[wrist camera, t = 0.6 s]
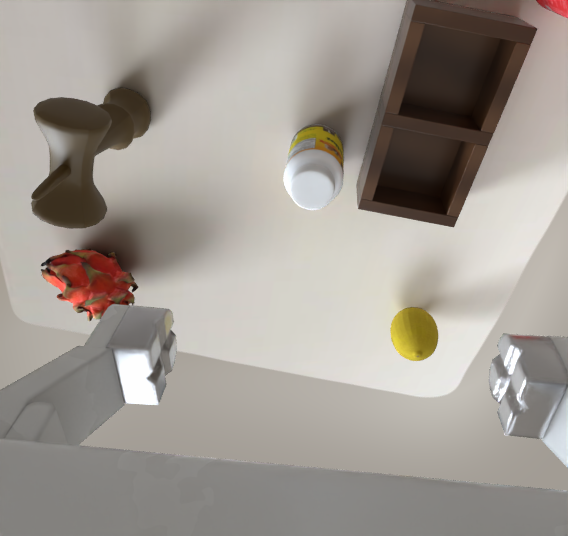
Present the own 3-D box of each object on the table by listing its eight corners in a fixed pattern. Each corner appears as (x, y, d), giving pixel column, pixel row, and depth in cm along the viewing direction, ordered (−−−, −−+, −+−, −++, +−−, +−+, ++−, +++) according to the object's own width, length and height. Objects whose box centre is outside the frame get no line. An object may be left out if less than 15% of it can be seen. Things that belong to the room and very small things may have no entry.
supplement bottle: (350, 163, 53) (351, 208, 45) (301, 179, 55) (294, 226, 47) (333, 114, 51) (331, 152, 42) (282, 132, 52) (271, 173, 44)
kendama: (97, 145, 55) (-5, 241, 39) (104, 55, 50) (-13, 123, 33) (151, 161, 56) (72, 262, 39) (163, 74, 50) (77, 150, 34)
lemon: (421, 288, 62) (430, 332, 55) (439, 318, 64) (450, 364, 58) (380, 305, 64) (385, 349, 57) (399, 333, 66) (406, 379, 60)
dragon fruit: (153, 283, 67) (73, 240, 67) (151, 265, 59) (59, 216, 59) (119, 339, 64) (34, 295, 64) (111, 327, 56) (14, 277, 56)
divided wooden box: (408, -5, 44) (415, 4, 40) (518, 17, 44) (537, 28, 40) (356, 185, 55) (357, 209, 50) (444, 202, 55) (454, 227, 51)
